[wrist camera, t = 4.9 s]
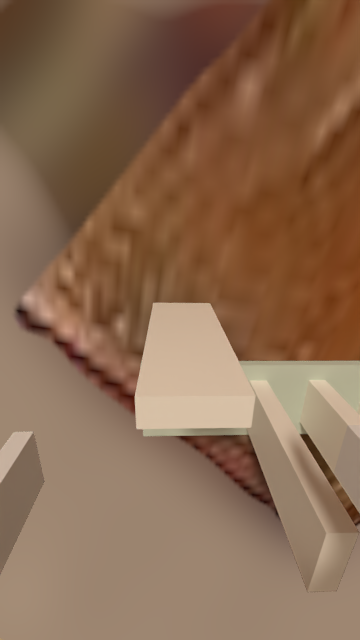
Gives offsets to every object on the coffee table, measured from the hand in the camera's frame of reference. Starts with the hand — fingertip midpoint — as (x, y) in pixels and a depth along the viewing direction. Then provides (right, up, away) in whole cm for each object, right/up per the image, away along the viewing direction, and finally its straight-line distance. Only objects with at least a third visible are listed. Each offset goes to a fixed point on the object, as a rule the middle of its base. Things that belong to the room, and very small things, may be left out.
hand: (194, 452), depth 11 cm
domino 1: (0, +7, +17) cm, 18 cm away
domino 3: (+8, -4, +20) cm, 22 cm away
